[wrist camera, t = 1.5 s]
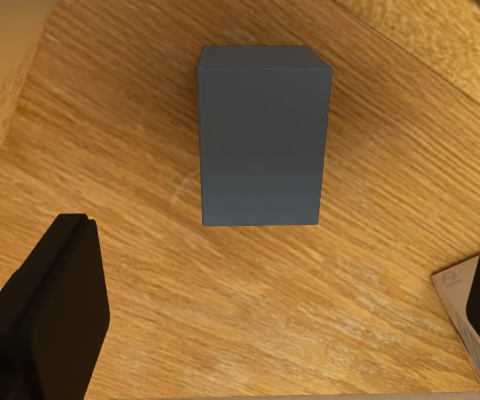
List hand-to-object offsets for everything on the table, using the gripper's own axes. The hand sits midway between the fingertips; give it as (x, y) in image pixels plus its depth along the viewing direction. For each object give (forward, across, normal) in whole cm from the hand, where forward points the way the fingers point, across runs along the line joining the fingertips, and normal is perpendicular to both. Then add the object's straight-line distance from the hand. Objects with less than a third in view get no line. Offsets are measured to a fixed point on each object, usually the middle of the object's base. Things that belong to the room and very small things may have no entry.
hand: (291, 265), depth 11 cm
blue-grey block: (+11, 0, -1) cm, 11 cm away
